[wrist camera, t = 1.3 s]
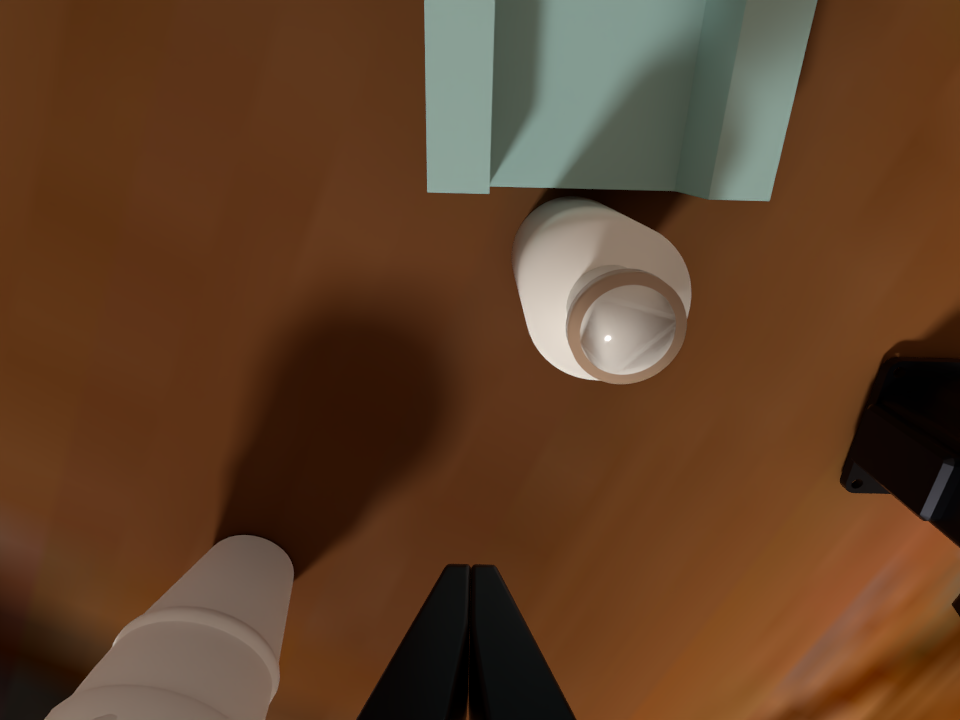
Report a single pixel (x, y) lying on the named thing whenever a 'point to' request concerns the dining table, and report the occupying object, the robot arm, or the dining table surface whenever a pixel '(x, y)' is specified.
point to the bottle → (600, 291)
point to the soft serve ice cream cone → (198, 644)
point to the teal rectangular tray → (611, 94)
